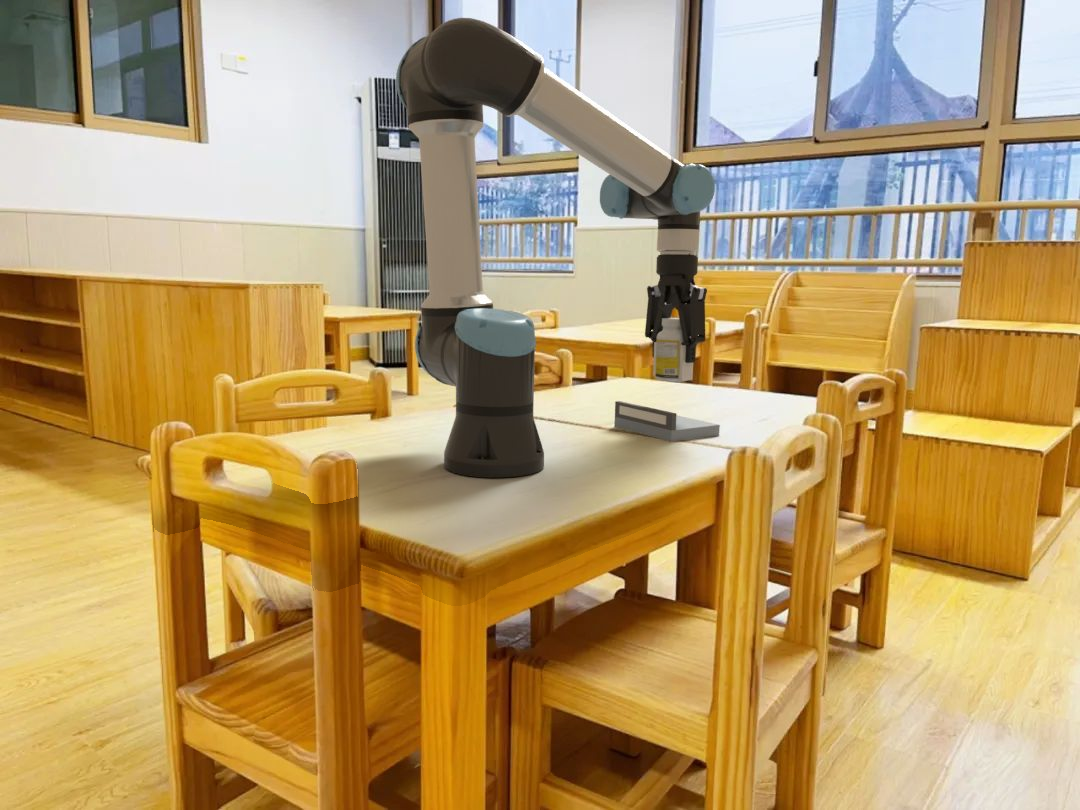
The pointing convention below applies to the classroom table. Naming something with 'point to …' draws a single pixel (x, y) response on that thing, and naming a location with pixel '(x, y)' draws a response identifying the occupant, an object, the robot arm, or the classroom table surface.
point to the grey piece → (661, 423)
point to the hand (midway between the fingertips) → (672, 377)
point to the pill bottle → (669, 350)
